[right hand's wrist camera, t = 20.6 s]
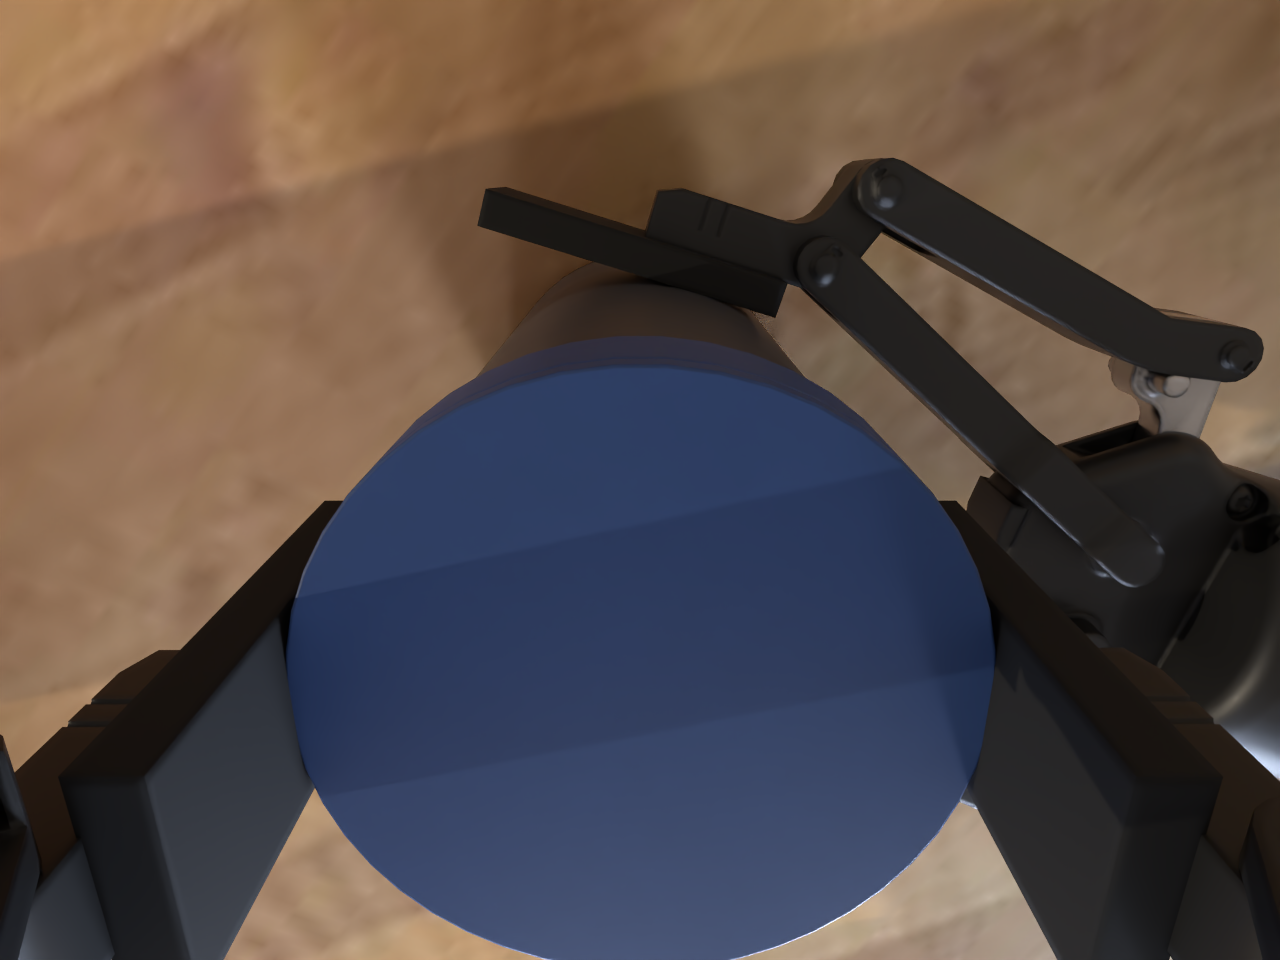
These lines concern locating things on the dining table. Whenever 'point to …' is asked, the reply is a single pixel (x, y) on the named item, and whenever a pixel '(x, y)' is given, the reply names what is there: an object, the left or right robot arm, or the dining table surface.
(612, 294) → the jar
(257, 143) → the dining table surface
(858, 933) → the dining table surface
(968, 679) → the lid
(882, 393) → the dining table surface
